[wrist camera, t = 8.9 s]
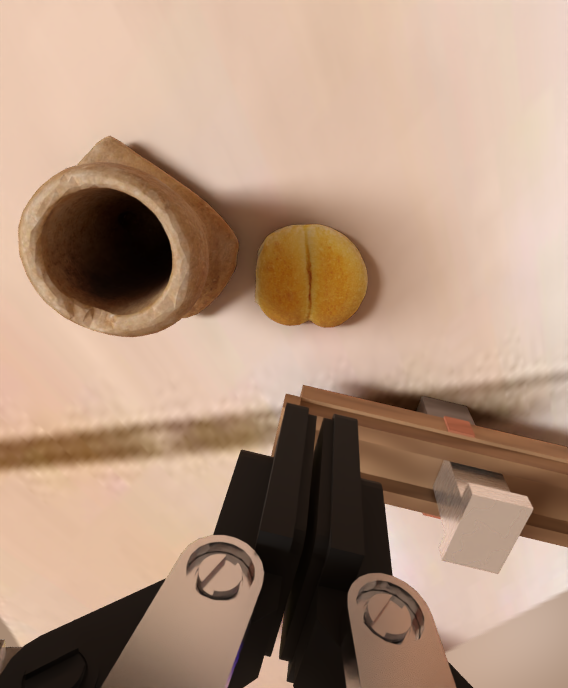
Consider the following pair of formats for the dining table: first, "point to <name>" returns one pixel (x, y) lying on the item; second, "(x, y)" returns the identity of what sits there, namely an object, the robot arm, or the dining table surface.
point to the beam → (446, 455)
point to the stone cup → (124, 244)
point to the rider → (478, 516)
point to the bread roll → (309, 276)
